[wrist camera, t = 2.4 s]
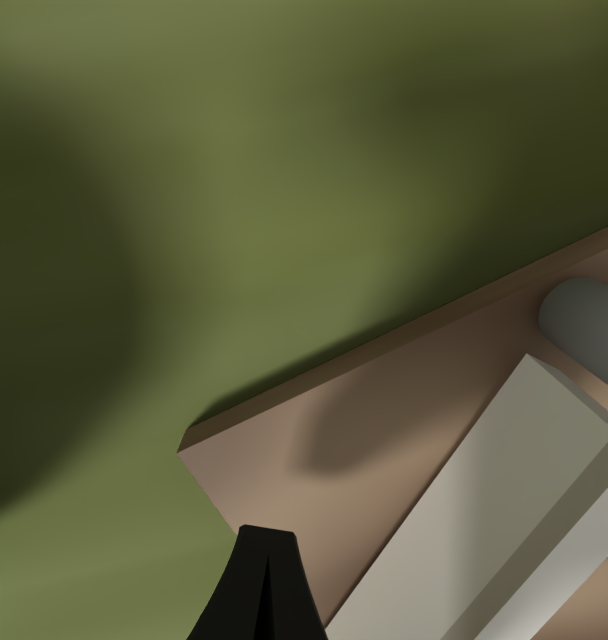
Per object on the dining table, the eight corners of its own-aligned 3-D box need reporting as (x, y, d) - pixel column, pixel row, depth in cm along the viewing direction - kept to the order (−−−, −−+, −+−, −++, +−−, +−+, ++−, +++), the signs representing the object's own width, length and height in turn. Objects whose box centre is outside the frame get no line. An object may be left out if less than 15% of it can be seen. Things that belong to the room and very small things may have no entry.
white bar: (569, 264, 11) (731, 331, 7) (628, 297, 11) (818, 380, 7) (293, 651, 15) (291, 837, 11) (342, 668, 16) (357, 855, 11)
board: (774, 578, 17) (953, 738, 12) (389, 714, 19) (417, 892, 14) (680, 191, 12) (909, 215, 8) (186, 429, 14) (134, 557, 10)
